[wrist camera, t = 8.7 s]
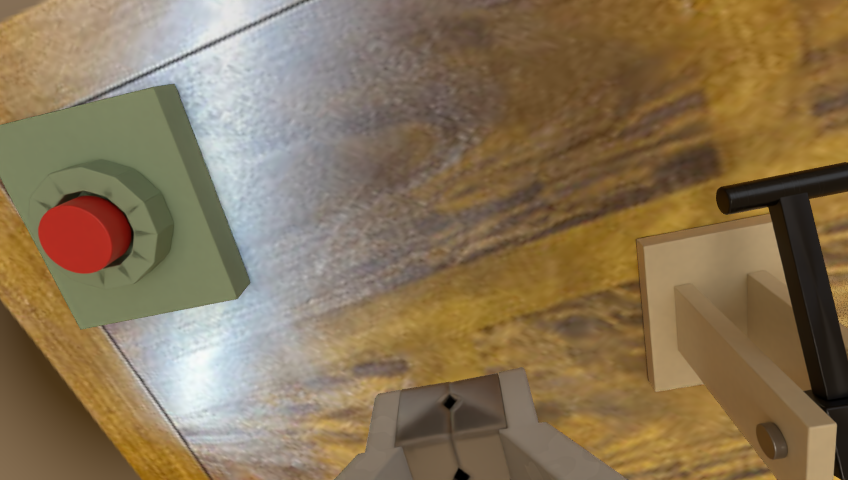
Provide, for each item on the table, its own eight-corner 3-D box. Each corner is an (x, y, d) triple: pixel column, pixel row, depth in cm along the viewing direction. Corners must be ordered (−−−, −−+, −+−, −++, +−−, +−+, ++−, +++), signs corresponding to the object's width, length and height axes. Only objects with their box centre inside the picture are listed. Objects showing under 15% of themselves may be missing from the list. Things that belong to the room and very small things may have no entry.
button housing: (8, 124, 28) (-57, 137, 25) (174, 83, 27) (132, 89, 24) (102, 311, 33) (59, 346, 29) (250, 282, 32) (225, 314, 28)
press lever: (706, 191, 23) (732, 183, 21) (826, 167, 22) (866, 156, 20) (769, 462, 22) (803, 487, 20) (894, 445, 22) (944, 467, 19)
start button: (49, 203, 26) (23, 213, 25) (114, 188, 26) (91, 198, 24) (81, 266, 27) (58, 280, 26) (143, 253, 27) (124, 266, 25)
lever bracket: (635, 238, 30) (765, 371, 18) (781, 211, 29) (1020, 330, 17) (648, 380, 33) (763, 571, 21) (778, 359, 32) (975, 545, 20)
